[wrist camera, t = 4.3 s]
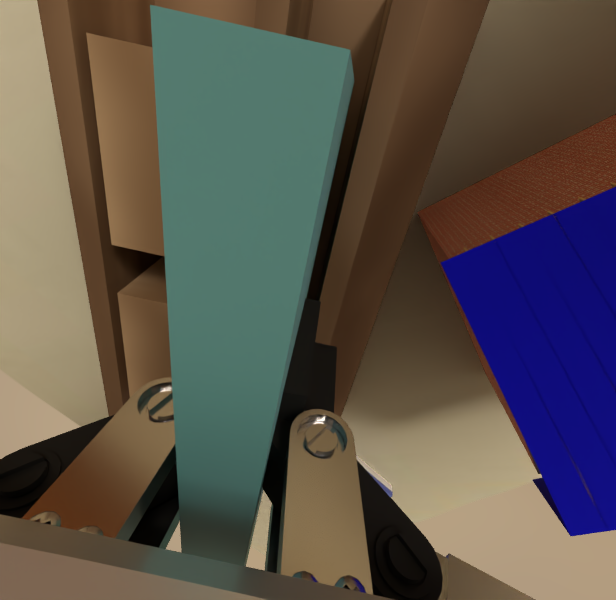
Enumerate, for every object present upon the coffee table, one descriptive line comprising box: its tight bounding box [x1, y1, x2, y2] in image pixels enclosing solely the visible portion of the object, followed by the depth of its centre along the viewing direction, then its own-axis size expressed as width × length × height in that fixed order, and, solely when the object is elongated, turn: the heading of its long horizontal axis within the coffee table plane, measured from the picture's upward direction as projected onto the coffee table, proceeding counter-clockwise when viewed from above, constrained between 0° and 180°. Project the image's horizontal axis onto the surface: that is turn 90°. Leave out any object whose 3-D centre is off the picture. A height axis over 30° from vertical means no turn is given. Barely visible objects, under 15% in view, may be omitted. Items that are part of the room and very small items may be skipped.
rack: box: [37, 0, 489, 417], centre depth 15 cm, size 15×21×6 cm
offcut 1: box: [86, 33, 165, 256], centre depth 12 cm, size 4×6×4 cm, turn 169°
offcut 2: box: [117, 256, 172, 398], centre depth 16 cm, size 4×6×4 cm, turn 169°
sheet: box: [150, 5, 355, 567], centre depth 10 cm, size 1×14×11 cm, turn 168°
